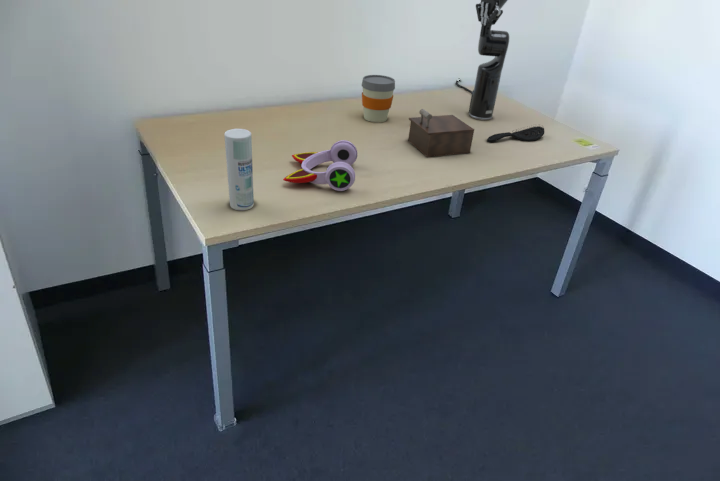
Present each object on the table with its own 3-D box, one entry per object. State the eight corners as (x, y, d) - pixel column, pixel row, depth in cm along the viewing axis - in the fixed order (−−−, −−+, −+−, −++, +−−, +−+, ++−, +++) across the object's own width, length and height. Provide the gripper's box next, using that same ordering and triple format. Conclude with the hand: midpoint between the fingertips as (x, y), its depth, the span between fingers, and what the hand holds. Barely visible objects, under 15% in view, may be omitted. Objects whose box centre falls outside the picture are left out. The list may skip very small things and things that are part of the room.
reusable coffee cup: (374, 126, 197) (378, 86, 189) (352, 116, 205) (355, 77, 197) (398, 120, 205) (402, 81, 197) (376, 110, 212) (379, 73, 204)
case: (427, 157, 176) (430, 135, 172) (408, 140, 187) (410, 119, 183) (469, 153, 182) (474, 131, 178) (448, 137, 193) (452, 116, 189)
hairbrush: (482, 130, 193) (535, 121, 202) (480, 139, 196) (533, 130, 204) (495, 138, 187) (550, 129, 196) (494, 148, 189) (548, 138, 198)
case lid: (428, 135, 172) (430, 119, 169) (408, 119, 183) (410, 104, 180) (474, 131, 178) (477, 116, 175) (452, 116, 189) (454, 102, 186)
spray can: (239, 213, 136) (235, 140, 126) (224, 204, 140) (218, 132, 129) (259, 205, 141) (256, 134, 130) (244, 196, 144) (240, 126, 134)
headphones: (357, 168, 146) (285, 154, 145) (351, 199, 151) (281, 185, 150) (360, 141, 163) (295, 128, 161) (353, 170, 168) (291, 157, 166)
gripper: (516, -17, 163) (504, 41, 173) (492, -23, 173) (482, 32, 183) (496, -18, 161) (484, 41, 170) (473, -24, 171) (463, 32, 180)
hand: (483, 37), depth 176 cm, fingers closed
